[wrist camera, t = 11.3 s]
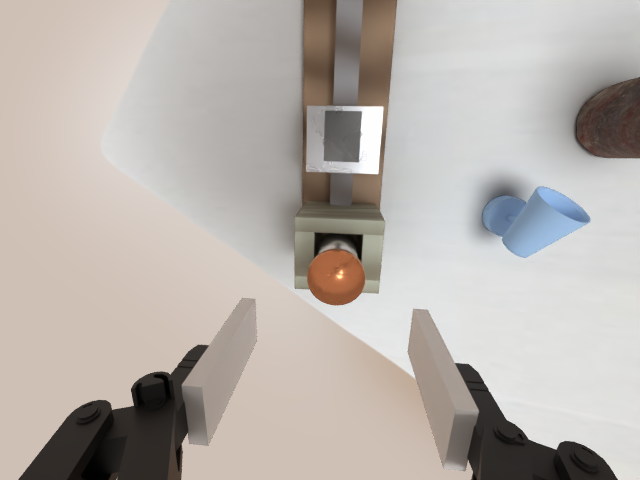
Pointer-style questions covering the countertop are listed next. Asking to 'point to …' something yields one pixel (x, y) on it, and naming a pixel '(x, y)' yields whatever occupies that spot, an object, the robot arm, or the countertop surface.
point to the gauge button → (336, 270)
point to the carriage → (343, 139)
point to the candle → (612, 121)
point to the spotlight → (533, 220)
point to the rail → (367, 82)
